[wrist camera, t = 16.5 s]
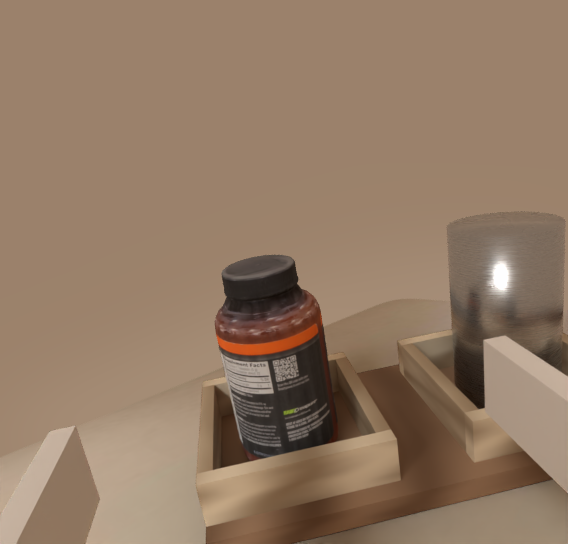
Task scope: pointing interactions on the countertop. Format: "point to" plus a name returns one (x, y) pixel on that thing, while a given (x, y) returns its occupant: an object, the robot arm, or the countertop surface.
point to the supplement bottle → (275, 359)
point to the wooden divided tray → (360, 454)
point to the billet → (505, 289)
